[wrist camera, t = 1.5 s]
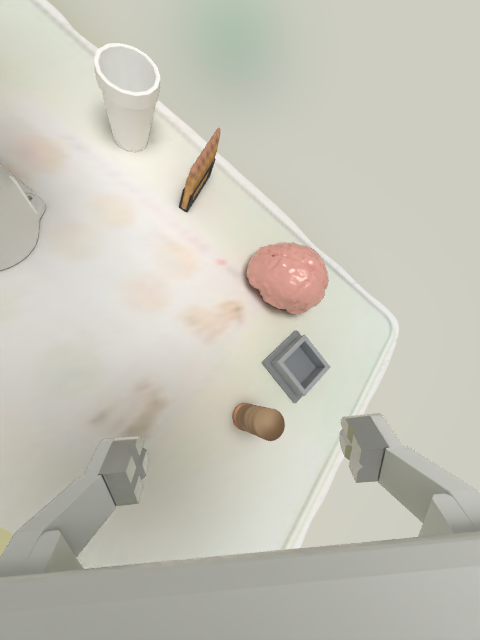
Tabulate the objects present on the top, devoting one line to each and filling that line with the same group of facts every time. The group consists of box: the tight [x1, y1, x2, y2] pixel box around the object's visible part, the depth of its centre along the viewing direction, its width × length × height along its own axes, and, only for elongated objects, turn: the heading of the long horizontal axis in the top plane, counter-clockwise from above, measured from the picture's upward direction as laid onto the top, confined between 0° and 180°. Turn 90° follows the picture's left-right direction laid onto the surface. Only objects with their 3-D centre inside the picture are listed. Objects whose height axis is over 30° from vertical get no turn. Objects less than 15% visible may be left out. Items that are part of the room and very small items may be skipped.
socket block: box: [262, 331, 330, 403], centre depth 54 cm, size 10×10×4 cm
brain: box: [247, 242, 329, 314], centre depth 55 cm, size 16×13×12 cm
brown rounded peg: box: [233, 403, 285, 441], centre depth 46 cm, size 5×5×11 cm
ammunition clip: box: [179, 128, 220, 212], centre depth 52 cm, size 11×2×12 cm, turn 155°
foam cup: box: [94, 43, 160, 152], centre depth 49 cm, size 10×9×13 cm
